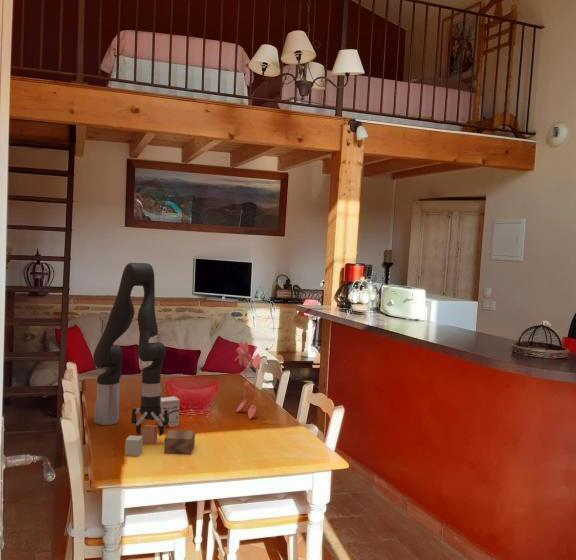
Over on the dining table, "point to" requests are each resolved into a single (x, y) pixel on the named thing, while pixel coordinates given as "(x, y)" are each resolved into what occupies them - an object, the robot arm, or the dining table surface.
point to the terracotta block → (149, 434)
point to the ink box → (170, 411)
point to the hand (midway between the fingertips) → (149, 434)
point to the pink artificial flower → (243, 359)
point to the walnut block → (179, 442)
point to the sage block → (133, 445)
